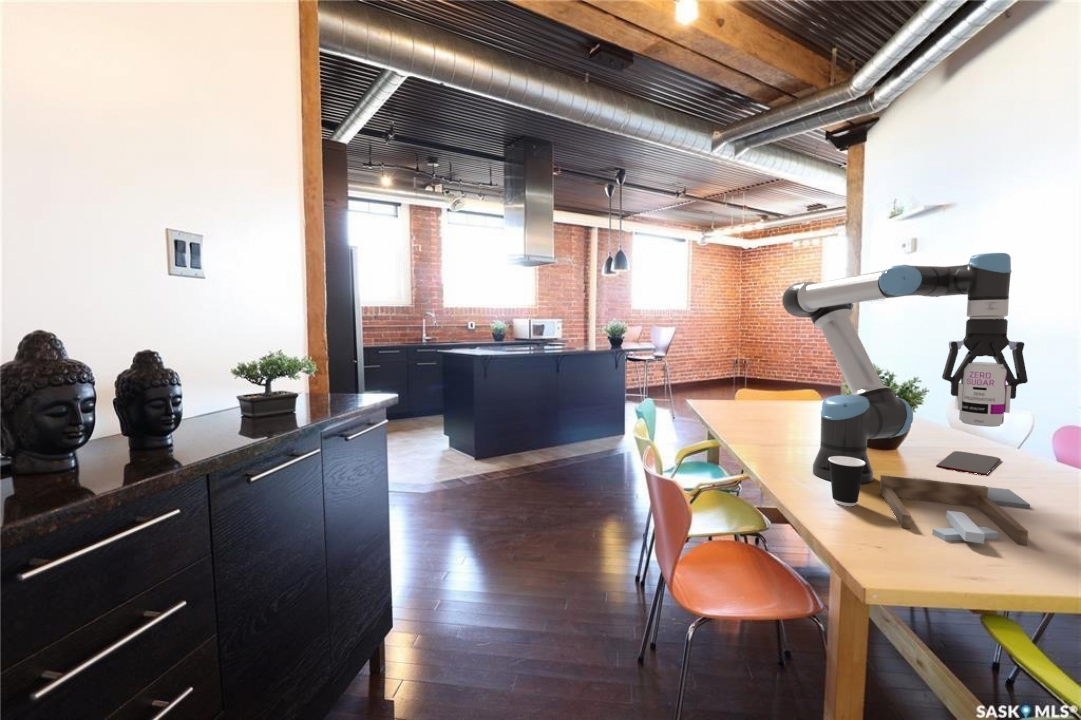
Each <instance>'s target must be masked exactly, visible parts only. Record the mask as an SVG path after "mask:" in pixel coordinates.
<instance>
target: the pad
mask: <svg viewBox="0 0 1081 720" xmlns="http://www.w3.org/2000/svg"><path fill="white" fill-rule="evenodd" d="M986 487H987V488H988V496H987V497H988V498H989V499H990V500H992V501H993V502H994V503H995V504H996V505H998V506H1003V507H1013V508H1022V509H1029V508H1030V509H1031V504H1030V503H1028V502H1027V500H1025V499H1023V498H1022V497H1021V496H1019V495H1017V493H1015V492H1013V491H1012V489H1011V490H1010V489H1009V488H999V487H991V486H986Z"/></svg>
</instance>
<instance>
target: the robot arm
mask: <svg viewBox="0 0 1081 720" xmlns="http://www.w3.org/2000/svg"><path fill="white" fill-rule="evenodd" d="M1011 260H1012V257H1011V256H1010V254H1008V253H1006V252H991V253H989V252H988V253H987V252H986V253H980V254H979V253H978V254H974V255H972V256H970V258H969V262H968V263H967V264H961V265H950V266H935V265H932V266H931V265H930V266H929V265H909V264H899V265H892V266H890V267H887V269H883V270H878V271H873V272H870V273H869V272H868V273H864V274H863V273H862V274H859V275H853V276H848V277H844V278H838V279H833V280H827V281H823V282H822V281H821V282H814V281H805V282H804V281H803V282H797V283H793V284H792V285H789V286H788V288H786V290H785V291H784V293H783V296H782V300H781V301H782V306H783V308H784V309H785V310H784V311H786V312H787V313H788V314H789V315H791V316H792V317H797V318H810V319H811V322H812V324H813V327H814V328H816V329H819V330H822V331H821V332H822V333H823V335H824V337H825V340H826V342H827V344H828V346H829V348H830V351H831V352H832V355H833V357H834V358H835V361H836V362H837V363H836V364H837V365H838V368H839V370H840V372H841V374H842V376H843V378H844V380H845V382H846V385H847V387H848V389H849V390H850V393H851V394H839V395H834V396H833V395H831V396H829V397H827V398H825V399H823V401H822V404H821V410H820V446H819V450H818V452H817V454H816V457H815V460H814V462H813V465H812V474H814V475H815V476H817V477H819V478H821V479H825V480H827V481H831V473H830V461H829V460H828V458H829V457H833V456H844V457H851V458H856V459H860V460H862V461H864V462H865V463H866V464H865V465H864V468H863V474H862V480H861V484H869V483H871V482H873V480H874V472H873V469H872V465H871V462H870V458H869V456H868V453H867V451H868V450H867V449H868V448H867V447H868V440H875V439H892V438H894V437H899V436H902V435H904V434H905V433H907V432H908V431H909V430H910V429H911V427H912V423H913V421H914V413H913V409H912V407H911V406H910V404H909V403H908V401H906V400H905V399H902V398H901V397H897V396H896V395H895V393H894V390H892V388H891V387H890V386H887V385H884V384H883V382H882V380H881V379H880V377H879V375H878V372H877V370H876V368H875V367H874V364H873V363H872V360H871V359H870V355H868V353H867V351H866V349H865V346H864V344H863V342H862V340H861V338H860V337H859V334H858V331H856V329H855V326H854V324H853V323H852V320H851V317H852V316H853V307H854V304H856V303H861V302H870V301H876V300H883V299H892V298H900V297H901V298H902V297H905V296H906V297H910V296H921V297H922V296H923V297H930V298H932V297H933V298H934V297H935V298H937V297H938V298H939V297H947V296H948V297H949V296H950V297H951V296H961V295H963V296H964V295H965V296H966V295H967V303H966V304H967V306H966V317H967V318H969V319H967V320H965V321H966V322H965V335H964V336H965V337H964V338H963V339H962V340H957V341H955V340H951V341H949V342H948V347H949V351H948V355H947V357H946V358H947V359H946V362H945V366H944V369H943V372H942V376H941V378H942V380H944V381H948V382H950V394H951V396H952V397H955V402H954V409H955V410H957V411H960V410H962V395H963V384H961V382H960V381H961V378H962V377H963V375H964V369H965V368H966V366H967V365H968V363H972V362H974V360H976V358H977V357H990V358H991V357H992V358H993V359H994V360H995V363H997V364H1003V366H1004V367H1005V369H1006V370H1007V372H1006V389H1005V405H1004V414H1007V413H1008V414H1010V411H1011V399H1016V397H1017V386H1018V385H1022V384H1027V383H1028V382H1029V381H1028V375H1027V370H1026V363H1025V359H1024V358H1025V357H1024V352H1023V350H1024V348H1025V343H1024V342H1023V341H1011V340H1009V338H1008V336H1007V335H1008V323H1009V320H1007V318H1005V317H1008V315H1009V305H1010V304H1009V302H1010V297H1009V296H1010V287H1011V285H1010V284H1011V273H1012V265H1011V264H1012V261H1011ZM962 346H963V347H965V348H966V349H967V350H968V351H967V352H966V354H965V355H964V359H963V360H962V362H961V363H960V365H959V366H958V368H957V369H956V371H955V372H954V374H953V370H954V367H955V365H956V360H957V357H958V353H959V350H960V349H962ZM1008 346H1009V347H1008ZM1006 347H1008V348H1009V350H1011V354H1012V358H1013V359H1012V360H1013V364H1014V370H1015V375H1014V374H1013V372H1012V370H1011V368H1010V367H1009V364H1008V363H1007V361H1006V359H1005V356H1004V354H1003V350H1005V348H1006ZM952 374H953V376H952ZM1015 376H1016V378H1015ZM868 482H869V483H868Z"/></svg>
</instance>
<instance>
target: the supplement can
mask: <svg viewBox="0 0 1081 720" xmlns="http://www.w3.org/2000/svg"><path fill="white" fill-rule="evenodd" d="M1006 372H1007V370H1006V369H1005V367H1004V366H1003V364H997V362H988V361H987V362H984V361H983V362H982V361H981V362H980V361H973V362H972V363H968V365H967V366H966V368H965V369H964V375H963V377H962V378H961V380H960V381H961V382H960V383H961V384H963V395H962V410H959V418H958V419H959V420H960V421H961V422H962V423H963V424H965V425H970V426H978V427H990V428H991V427H993V428H994V427H1000V426H1001V425H1004V421H1005V420H1004V419H1005V418H1004V417H1005V412H1004V405H1005V389H1006V385H1007V381H1006Z"/></svg>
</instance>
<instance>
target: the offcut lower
mask: <svg viewBox="0 0 1081 720" xmlns="http://www.w3.org/2000/svg"><path fill="white" fill-rule="evenodd" d="M977 527H978V528H979V529H980V530H981V531H982V532H983V533H984V534H985V537H984V540H996V539H999V533H1000V532H998V531H997V530H995V529H991V528H989V527H987V526H977ZM931 533H932V536H933V537H937V539H940V540H942V541H944V542H948V541H949V542H950V541H951V542H952V541H965V540H964V539H963V538H962V537H961V536H960V535H959V533H958V532H957V531H956V530H955V529H954V528H953V527H950V528H949V527H948V528H946V527H945V528H932V532H931Z"/></svg>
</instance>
